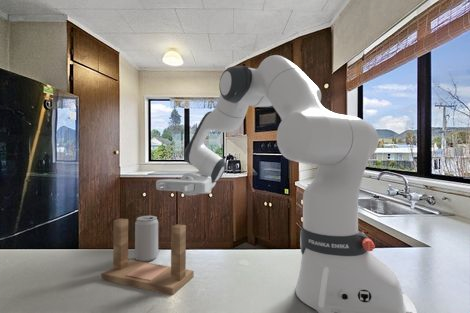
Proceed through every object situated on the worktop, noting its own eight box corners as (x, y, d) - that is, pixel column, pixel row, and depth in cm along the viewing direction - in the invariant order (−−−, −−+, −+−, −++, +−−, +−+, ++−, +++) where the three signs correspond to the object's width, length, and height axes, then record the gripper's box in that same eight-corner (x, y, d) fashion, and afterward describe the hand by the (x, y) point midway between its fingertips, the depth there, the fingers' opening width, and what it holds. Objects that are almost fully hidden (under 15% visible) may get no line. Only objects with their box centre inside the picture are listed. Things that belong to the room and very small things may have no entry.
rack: (193, 276, 63) (193, 222, 63) (172, 295, 54) (173, 231, 54) (128, 265, 70) (129, 215, 70) (101, 279, 61) (101, 223, 61)
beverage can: (151, 263, 70) (151, 220, 71) (130, 261, 72) (130, 219, 72) (162, 255, 77) (162, 215, 77) (142, 253, 78) (143, 214, 78)
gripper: (168, 175, 102) (145, 177, 89) (215, 176, 95) (197, 179, 82) (168, 190, 102) (145, 195, 89) (214, 193, 95) (197, 199, 82)
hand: (170, 187), depth 86 cm, fingers open, 8 cm apart
